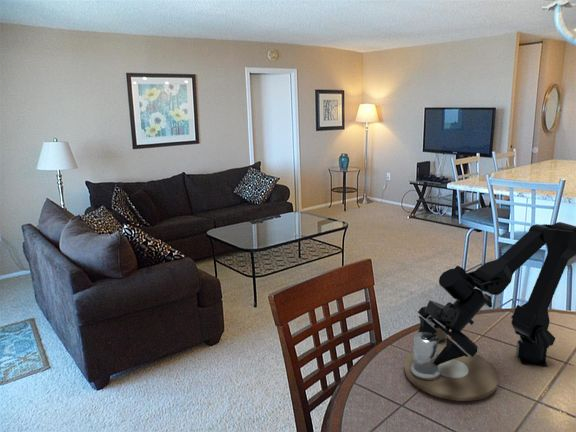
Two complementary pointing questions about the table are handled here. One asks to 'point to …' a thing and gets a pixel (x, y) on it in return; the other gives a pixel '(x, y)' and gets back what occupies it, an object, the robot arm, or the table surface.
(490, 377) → the turntable
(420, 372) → the cover
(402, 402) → the table surface
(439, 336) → the vase
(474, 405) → the table surface
